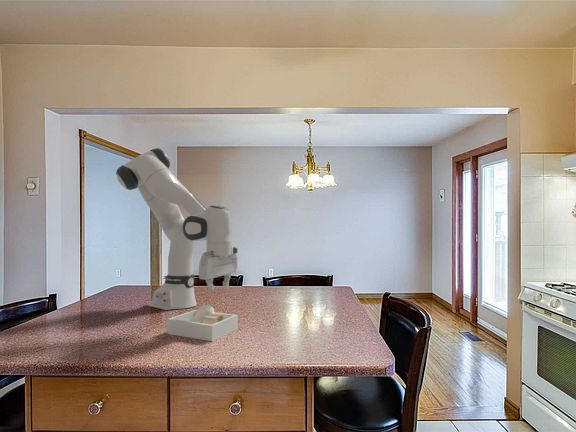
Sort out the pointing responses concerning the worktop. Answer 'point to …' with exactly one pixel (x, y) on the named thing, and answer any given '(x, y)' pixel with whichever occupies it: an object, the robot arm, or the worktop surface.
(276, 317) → the worktop surface
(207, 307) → the lightbulb
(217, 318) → the maple cube
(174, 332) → the tote
